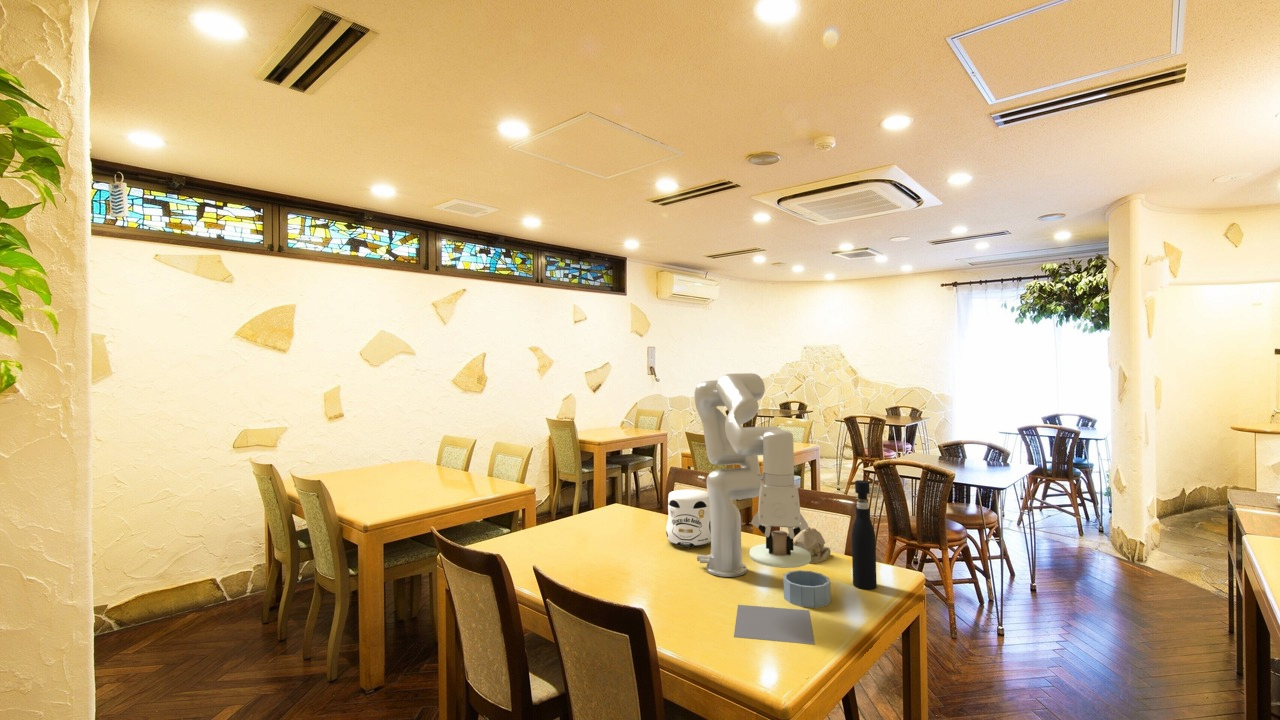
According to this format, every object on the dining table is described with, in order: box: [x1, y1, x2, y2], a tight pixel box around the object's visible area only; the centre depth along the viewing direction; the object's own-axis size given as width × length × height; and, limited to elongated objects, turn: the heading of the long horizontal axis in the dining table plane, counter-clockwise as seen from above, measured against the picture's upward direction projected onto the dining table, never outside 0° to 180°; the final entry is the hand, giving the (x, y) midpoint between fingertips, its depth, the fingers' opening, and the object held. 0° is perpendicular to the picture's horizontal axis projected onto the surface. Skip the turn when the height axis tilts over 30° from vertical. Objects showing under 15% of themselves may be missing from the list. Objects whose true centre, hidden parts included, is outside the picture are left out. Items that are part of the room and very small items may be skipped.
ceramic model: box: [793, 526, 831, 564], centre depth 184 cm, size 14×11×10 cm
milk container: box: [665, 489, 711, 548], centre depth 200 cm, size 17×17×18 cm
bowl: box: [783, 569, 832, 609], centre depth 149 cm, size 12×12×6 cm
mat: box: [733, 604, 816, 645], centre depth 134 cm, size 18×18×1 cm
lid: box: [748, 530, 811, 569], centre depth 138 cm, size 15×15×6 cm
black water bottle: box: [851, 479, 878, 591], centre depth 159 cm, size 6×6×30 cm
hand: (779, 551), depth 138 cm, fingers closed on lid, 4 cm apart
